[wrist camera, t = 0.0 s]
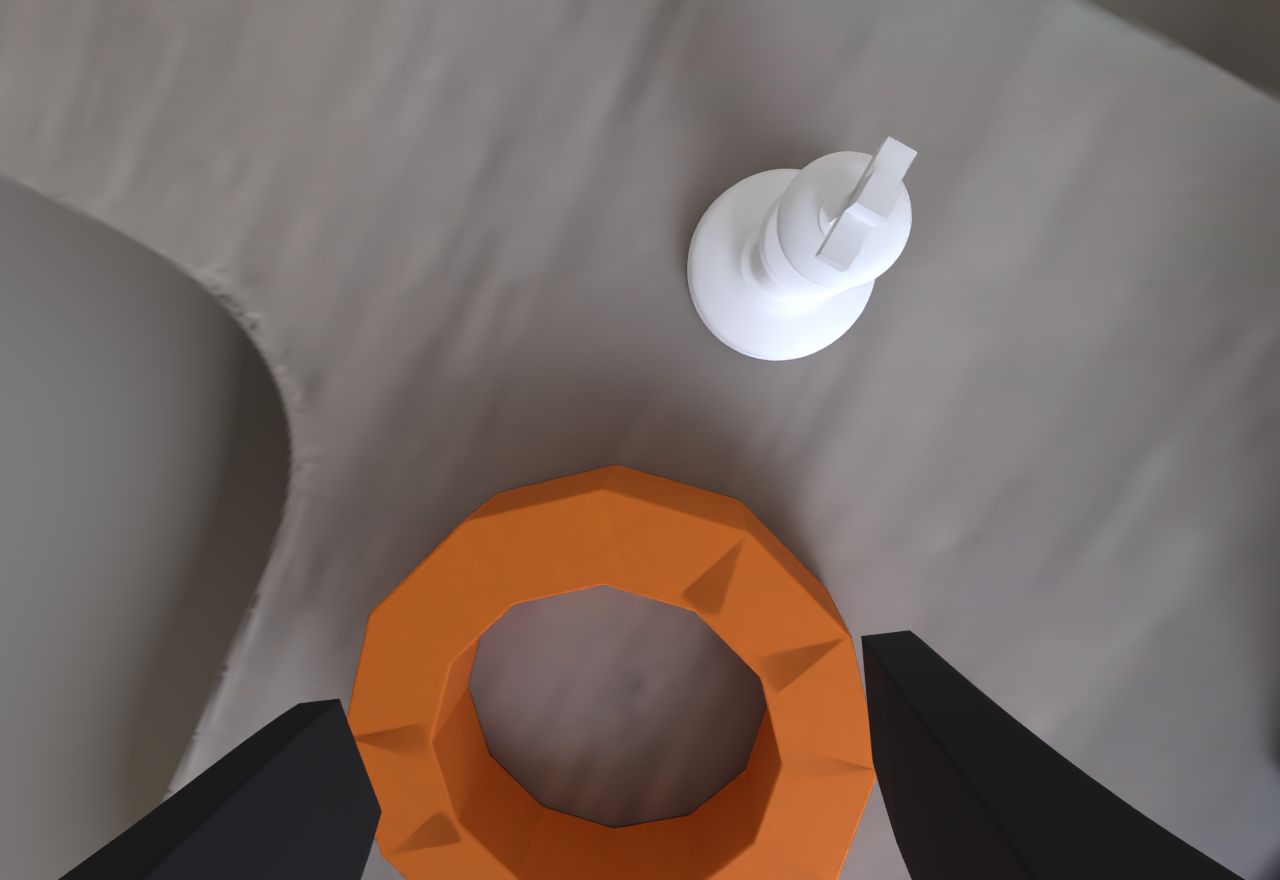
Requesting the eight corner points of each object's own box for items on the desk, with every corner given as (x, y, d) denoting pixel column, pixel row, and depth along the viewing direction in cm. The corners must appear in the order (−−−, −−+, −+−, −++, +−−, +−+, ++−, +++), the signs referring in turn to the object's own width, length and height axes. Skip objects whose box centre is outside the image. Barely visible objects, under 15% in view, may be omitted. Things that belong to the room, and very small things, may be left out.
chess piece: (654, 304, 19) (610, 277, 9) (746, 136, 18) (812, -105, 8) (810, 393, 19) (942, 462, 9) (910, 229, 18) (1178, 103, 8)
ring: (468, 920, 22) (434, 1011, 19) (340, 529, 20) (280, 563, 17) (886, 852, 21) (919, 939, 18) (789, 422, 19) (808, 440, 16)
